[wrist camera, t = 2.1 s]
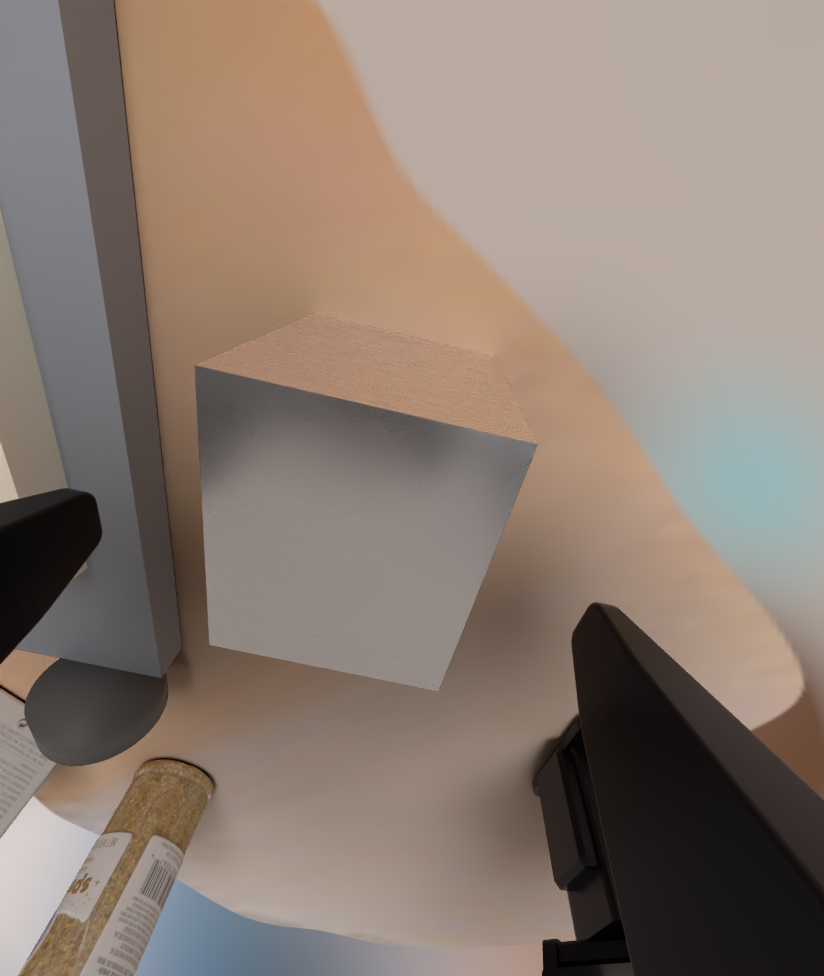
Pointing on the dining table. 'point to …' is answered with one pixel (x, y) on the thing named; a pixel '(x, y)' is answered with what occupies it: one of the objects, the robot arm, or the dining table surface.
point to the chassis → (81, 375)
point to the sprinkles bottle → (125, 877)
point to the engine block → (353, 495)
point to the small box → (17, 761)
